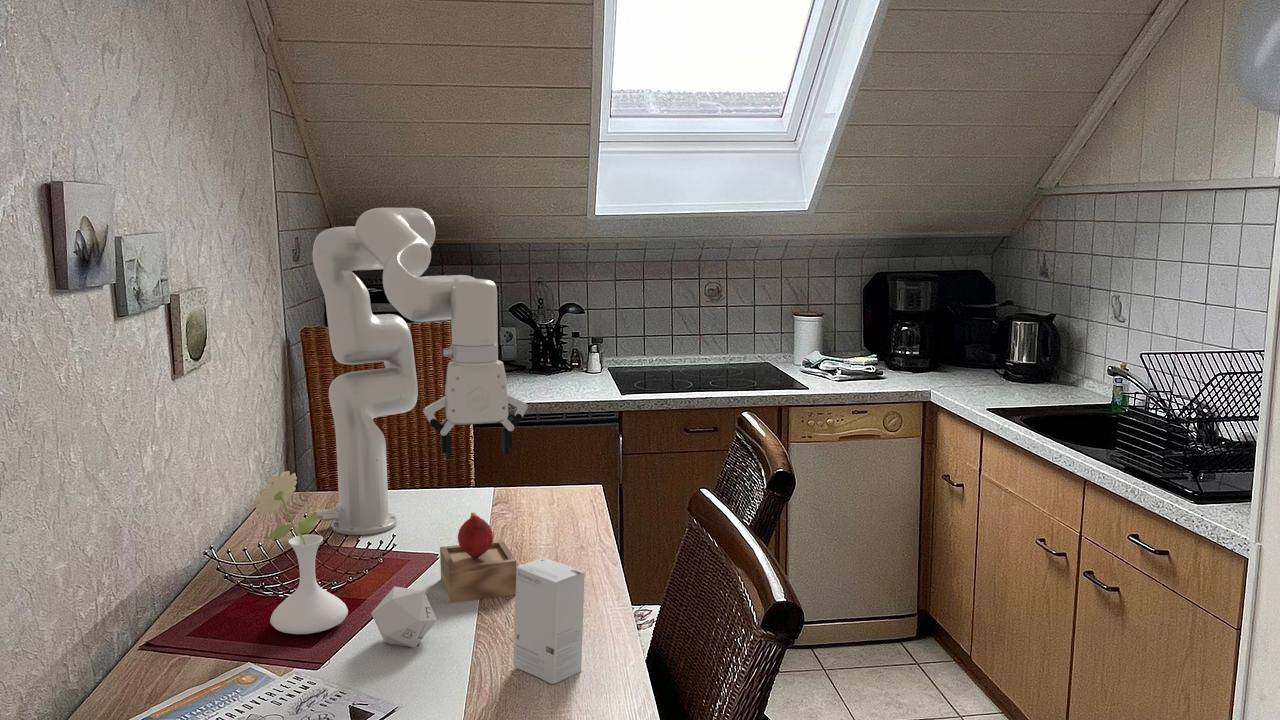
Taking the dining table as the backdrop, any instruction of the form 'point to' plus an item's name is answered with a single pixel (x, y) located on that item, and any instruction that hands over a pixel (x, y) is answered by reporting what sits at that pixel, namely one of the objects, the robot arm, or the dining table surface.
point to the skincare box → (548, 620)
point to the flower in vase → (300, 568)
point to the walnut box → (478, 573)
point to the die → (404, 616)
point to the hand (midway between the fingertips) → (476, 454)
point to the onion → (475, 536)
